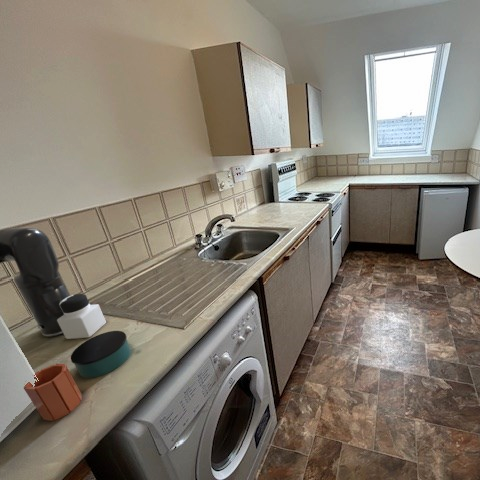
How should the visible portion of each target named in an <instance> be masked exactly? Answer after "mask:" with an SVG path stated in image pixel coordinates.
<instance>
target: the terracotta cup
mask: <svg viewBox="0 0 480 480" xmlns="http://www.w3.org/2000/svg"><path fill="white" fill-rule="evenodd" d="M34 374H35V375H36V377H37V378H38V380H39V381H38V380H37V378H36V377H34V379H36V380H37V382H36V381H35V383H34V384H35V386H34V387H33V385H32V384H31V383H30V382H28V383H27V384H26V385H25V384H24V385H25V386H24V385H23V390H24V391H25V393H26V394H27V396H28V398H29V399H30V401H31V403H32V404H33V406H34V408H36V411H37V412H38V413H39V415H40V416H41V418H42V419H43V421H51V422H52V421H53V422H54V421H57V420H59V419H60V418H63V417H65V416H67V415H69V414H70V413H72V412H73V411H74V410H75V409H76V408H77V407H78V406H79V405H80V404H81V402H82V399H83V398H82V395H83V394H82V392H81V391H80V389H79V386H78V385H77V383H76V381H75V379H74V378H73V376H72V374H71V372H70V370H69V367H68V365H67V364H65V363H55V364H52V365H50V366H47V367H44V368H42V369H40V370H39V371H37V372H35V373H34ZM34 374H33V375H34ZM35 375H34V376H35Z"/></svg>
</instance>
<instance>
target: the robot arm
mask: <svg viewBox="0 0 480 480" xmlns="http://www.w3.org/2000/svg"><path fill="white" fill-rule="evenodd" d="M7 262H15V264H16V267H17V269H18V271H19V273H17V274H16V275H14V277H13V282H14V284H15V286H16V287H17V290H18V291H19V293H20V296H21V297H22V299H23V300H24V302H25V304H26V306H27V308H28V310H29V311H30V313H31V315H32V318H34V321H35V322H36V327H37V328H38V329H40V331H41V335H42V337H45V338H52V337H57V336H61V335H64V333H63V331H62V329H61V327H60V326H59V324H58V322H57V319H59V318H60V317H61V316H63V315H64V313H63V311H62V309H61V307H60V305H59V304H60V302H61V301H62V300H63V299H65V298H67V297H69V296H71V294H70V292H69V289H68V288H67V285H66V283H65V281H64V279H63V276H62V274H61V272H60V270H59V269H60V262H59V259H58V256H57V254H56V251H55V249H54V246H53V243H52V241H51V240H50V237H48V235H47V234H46V233H45V232H44V231H42V230H40V229H39V228H32V227H11V228H10V227H9V228H4V229H0V264H3V263H7Z"/></svg>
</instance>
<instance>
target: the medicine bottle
mask: <svg viewBox="0 0 480 480" xmlns="http://www.w3.org/2000/svg"><path fill="white" fill-rule="evenodd" d="M59 305H60V307H61V309H62V311H63V313H64V315H63V316H61V317H60V318H59V319H57V322H58V324H59V326H60V327H61V329H62V331H63V336H64V337H65V339H66V340H72V339H86V338H92V337H93V335H95V333H96V332H97V331H99V329H101V328H102V327H103V326H104V325H105V324H107V321H106V318H105V316H104V314H103V312H102V309H101V306H100V304H98V303H97V304H90V302H89V299H88V297H87V295H86V294H84V293H77V294H72V295H70V296H69V297H67V298H65V299H63V300H62V301H61V302H60V304H59Z"/></svg>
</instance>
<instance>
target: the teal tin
mask: <svg viewBox="0 0 480 480" xmlns="http://www.w3.org/2000/svg"><path fill="white" fill-rule="evenodd" d="M127 338H128V337H127V334H126V333H125V332H124V331H122V330H110V331H107V332H103V333H100V334H97V335H95V336H92V337H90V338H89V339H87V340H86V341H83V342H82V343H81V344H80V345H78V346H77V347H76V348H75V349H74V350H73V351H72V353H71V354H70V361H71V363H72V364H74V367H75V368H76V370H77V372H78V374H79V376H80V377H82V378H84V379H93V378H98V377H102V376H104V375H106V374H108V373H111V372H112V371H115V370H116V369H117V368H119V367H120V366H121V365H123V364H124V363H125V362H126V361H127V360H128V359H129V357H130V356H131V353H132V349H131V346H130V344H129V341H128V339H127Z"/></svg>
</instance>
